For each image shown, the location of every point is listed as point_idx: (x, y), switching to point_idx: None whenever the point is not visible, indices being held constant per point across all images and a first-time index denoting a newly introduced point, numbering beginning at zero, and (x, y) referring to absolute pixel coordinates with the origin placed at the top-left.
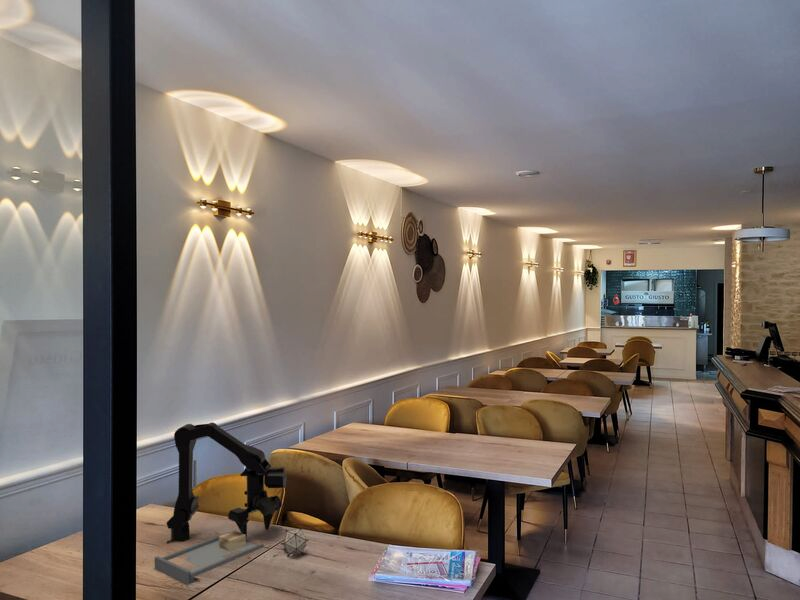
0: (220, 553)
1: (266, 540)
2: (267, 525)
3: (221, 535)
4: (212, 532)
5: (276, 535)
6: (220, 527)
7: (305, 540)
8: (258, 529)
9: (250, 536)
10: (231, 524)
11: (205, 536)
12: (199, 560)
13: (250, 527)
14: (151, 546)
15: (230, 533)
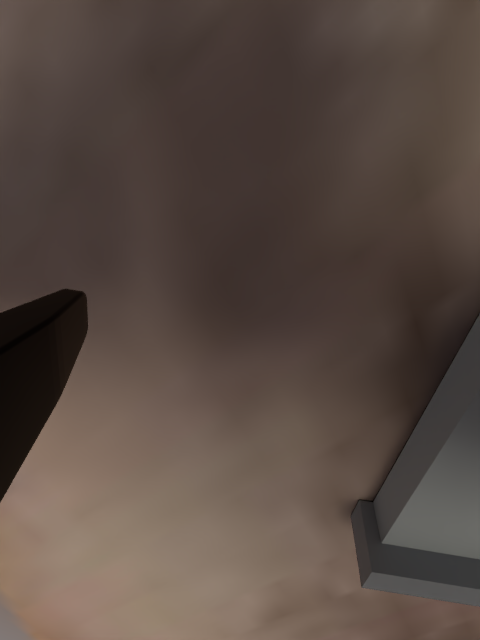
0: None
1: (219, 173)
2: (51, 329)
3: (475, 599)
4: (285, 632)
5: (4, 158)
6: (193, 633)
7: None
8: (43, 444)
9: (216, 414)
10: (114, 613)
11: (362, 634)
12: None
13: (62, 511)
14: None
15: None
